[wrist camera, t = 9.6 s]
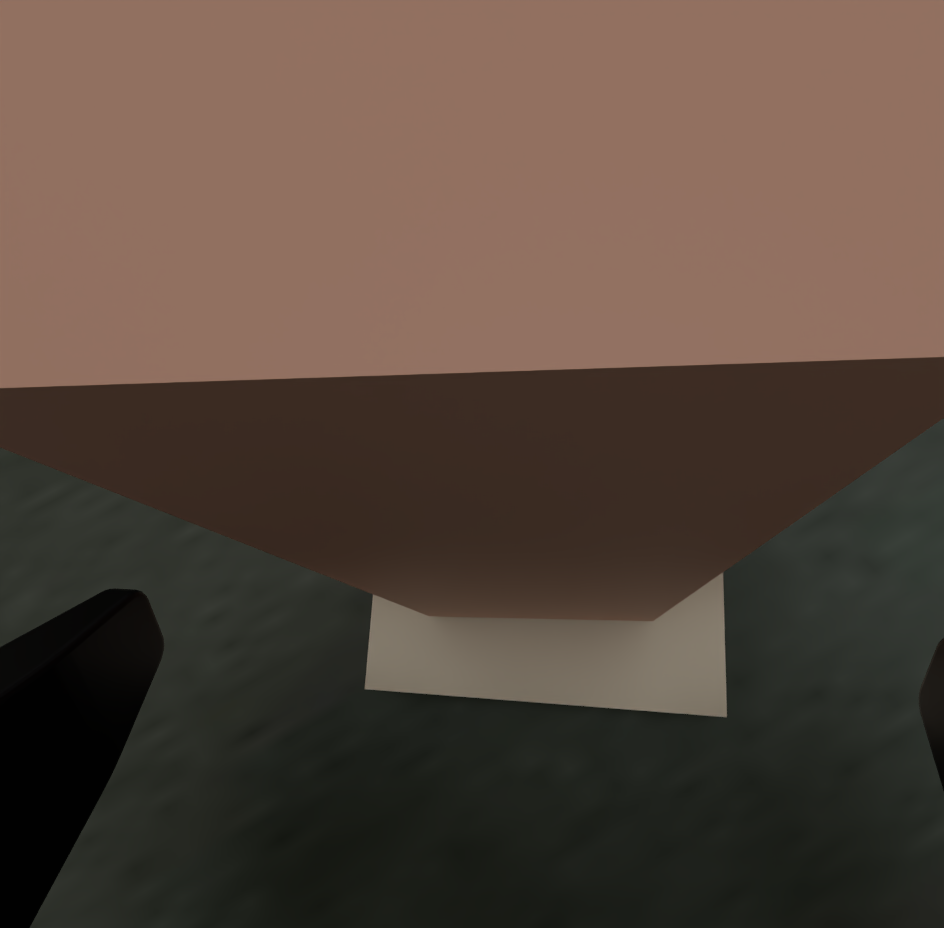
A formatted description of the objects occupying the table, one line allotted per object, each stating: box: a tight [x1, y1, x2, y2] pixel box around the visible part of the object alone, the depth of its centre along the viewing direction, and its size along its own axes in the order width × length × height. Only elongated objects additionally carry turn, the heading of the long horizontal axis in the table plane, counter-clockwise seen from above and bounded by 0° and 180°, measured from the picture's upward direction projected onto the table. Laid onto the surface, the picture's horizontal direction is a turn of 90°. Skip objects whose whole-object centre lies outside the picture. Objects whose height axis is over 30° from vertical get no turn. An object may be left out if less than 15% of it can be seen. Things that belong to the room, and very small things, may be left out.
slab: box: [365, 573, 727, 717], centre depth 17 cm, size 8×8×3 cm
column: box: [0, 0, 944, 621], centre depth 10 cm, size 5×5×13 cm
